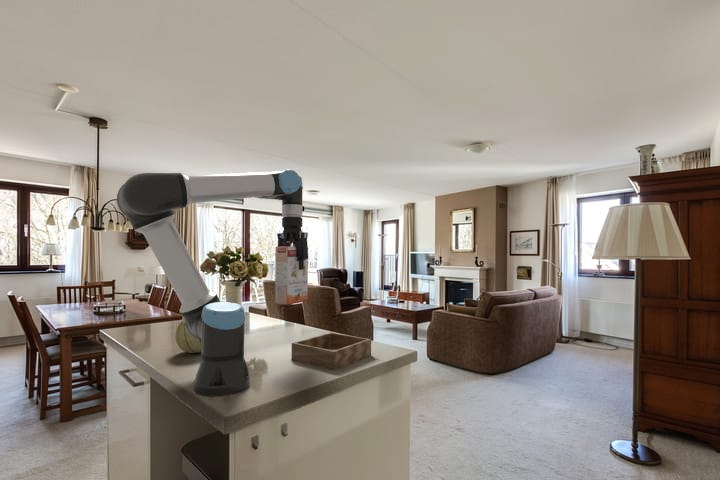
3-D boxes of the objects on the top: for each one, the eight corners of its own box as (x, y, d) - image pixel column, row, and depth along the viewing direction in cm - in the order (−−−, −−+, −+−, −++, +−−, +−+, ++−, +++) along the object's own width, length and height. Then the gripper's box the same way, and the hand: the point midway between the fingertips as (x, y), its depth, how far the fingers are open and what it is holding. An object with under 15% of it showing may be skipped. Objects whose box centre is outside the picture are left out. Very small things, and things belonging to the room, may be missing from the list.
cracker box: (288, 305, 126) (288, 246, 127) (274, 304, 128) (274, 246, 129) (308, 300, 139) (308, 246, 139) (295, 299, 141) (295, 246, 142)
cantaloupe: (224, 350, 142) (225, 312, 143) (192, 360, 129) (193, 318, 130) (199, 345, 149) (199, 309, 149) (166, 354, 136) (167, 314, 136)
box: (334, 370, 118) (334, 351, 118) (291, 359, 130) (291, 343, 130) (371, 355, 136) (371, 339, 136) (330, 347, 148) (330, 332, 148)
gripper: (318, 216, 132) (318, 278, 131) (281, 219, 143) (281, 276, 142) (304, 214, 126) (304, 280, 125) (266, 217, 137) (266, 278, 136)
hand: (292, 278), depth 134 cm, fingers closed on cracker box, 6 cm apart
